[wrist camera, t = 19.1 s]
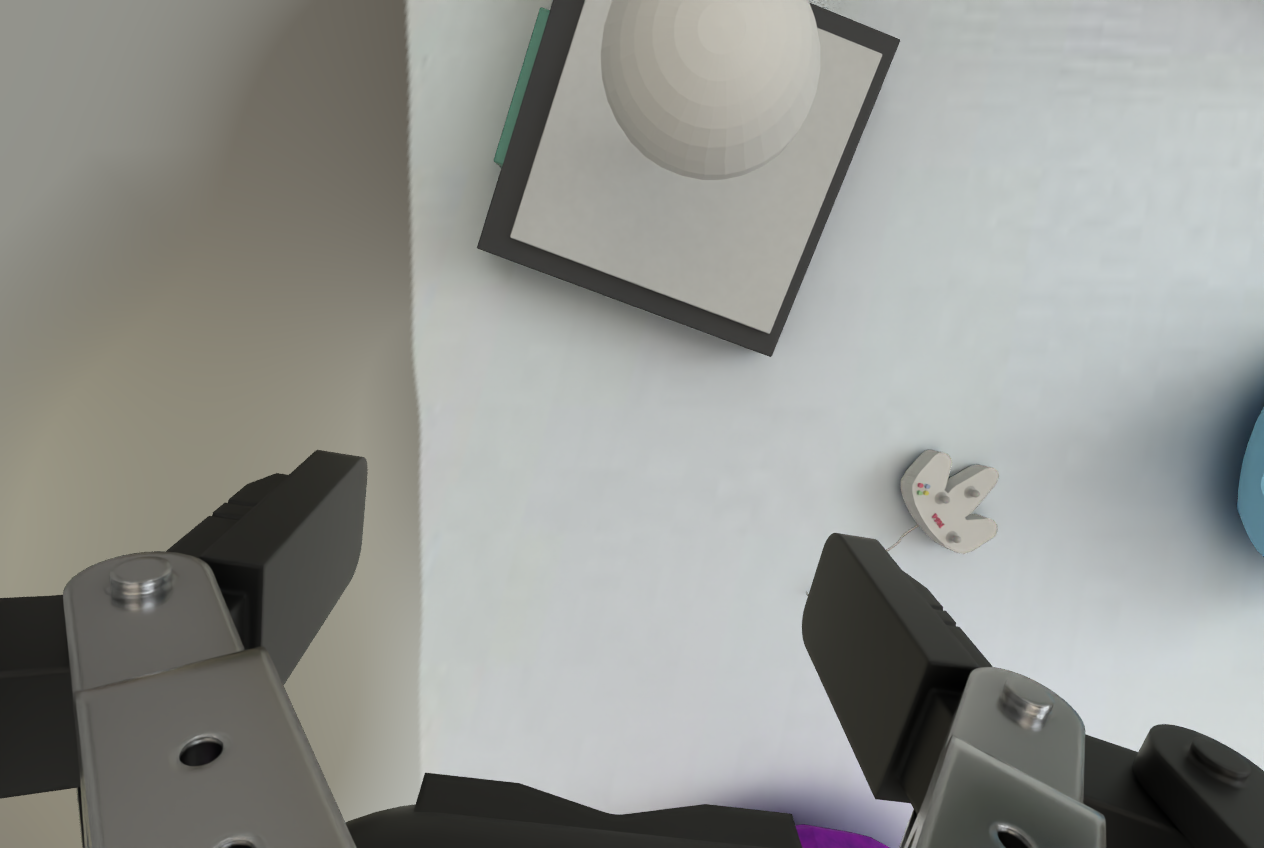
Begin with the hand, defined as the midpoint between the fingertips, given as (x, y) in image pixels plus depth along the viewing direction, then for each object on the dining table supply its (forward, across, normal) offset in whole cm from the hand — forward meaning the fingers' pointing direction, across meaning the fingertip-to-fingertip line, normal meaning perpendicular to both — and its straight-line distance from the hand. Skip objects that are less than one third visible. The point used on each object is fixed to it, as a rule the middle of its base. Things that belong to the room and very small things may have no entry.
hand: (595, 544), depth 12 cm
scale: (+26, -3, -8) cm, 27 cm away
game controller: (+23, -18, +8) cm, 31 cm away
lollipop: (+23, -2, -8) cm, 24 cm away
